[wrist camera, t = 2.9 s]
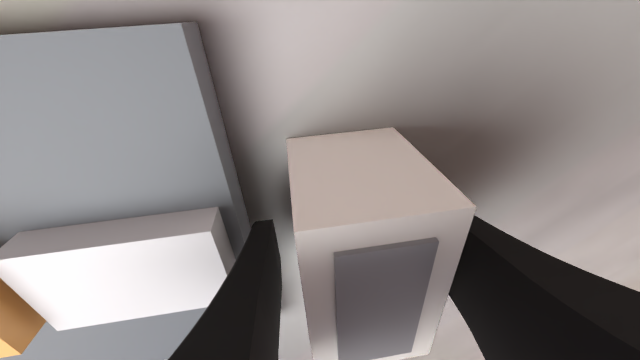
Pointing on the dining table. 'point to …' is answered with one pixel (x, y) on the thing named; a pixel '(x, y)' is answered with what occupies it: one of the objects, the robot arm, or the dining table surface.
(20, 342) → the block
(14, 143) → the rail board
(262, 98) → the dining table surface
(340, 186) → the block
